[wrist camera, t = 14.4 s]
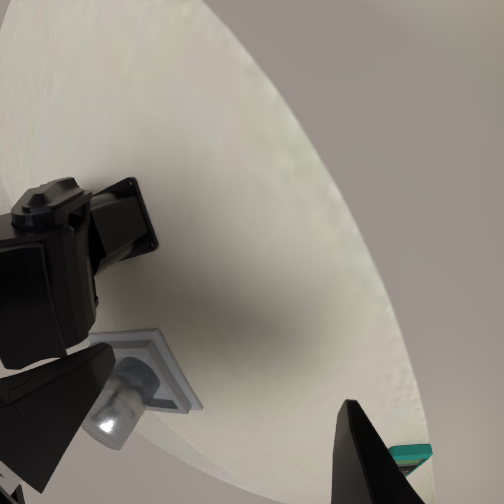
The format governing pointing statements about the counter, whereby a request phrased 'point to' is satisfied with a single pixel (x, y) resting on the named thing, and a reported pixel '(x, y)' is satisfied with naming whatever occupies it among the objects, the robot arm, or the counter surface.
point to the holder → (153, 367)
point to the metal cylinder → (121, 403)
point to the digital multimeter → (410, 456)
